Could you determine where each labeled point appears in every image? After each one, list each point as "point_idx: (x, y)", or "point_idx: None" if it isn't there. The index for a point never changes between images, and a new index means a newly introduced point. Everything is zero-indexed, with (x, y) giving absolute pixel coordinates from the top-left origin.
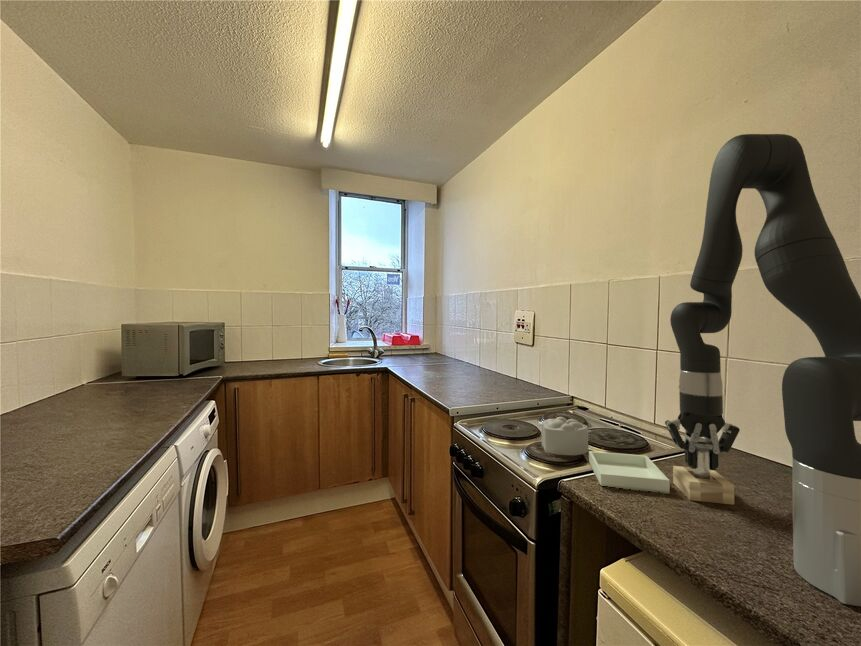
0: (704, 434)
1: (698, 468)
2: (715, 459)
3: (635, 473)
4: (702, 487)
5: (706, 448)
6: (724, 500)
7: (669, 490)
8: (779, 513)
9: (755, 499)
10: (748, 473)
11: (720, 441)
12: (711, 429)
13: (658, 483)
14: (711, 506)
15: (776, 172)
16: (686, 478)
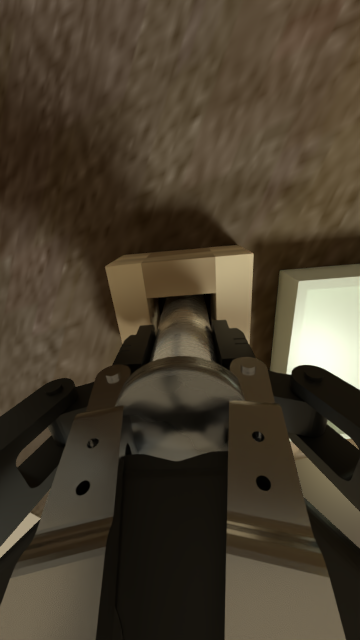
0: (167, 486)
1: (203, 320)
2: (130, 348)
3: (326, 362)
4: (206, 254)
5: (176, 361)
6: (145, 254)
7: (284, 271)
8: (25, 239)
9: (62, 306)
10: (45, 432)
11: (60, 458)
12: (80, 571)
13: (327, 274)
14: (190, 221)
15: None
16: (251, 280)
